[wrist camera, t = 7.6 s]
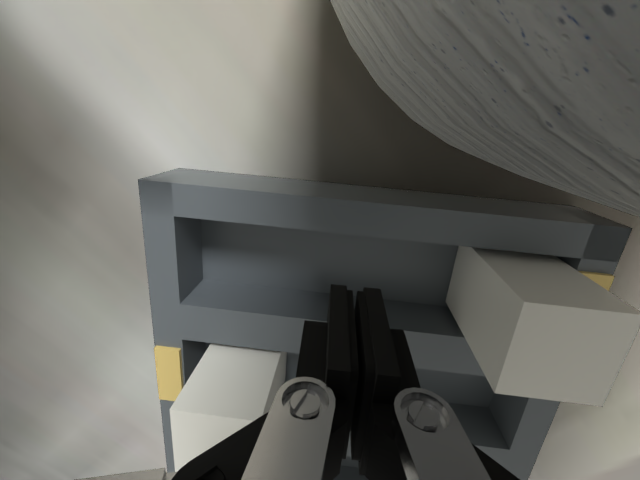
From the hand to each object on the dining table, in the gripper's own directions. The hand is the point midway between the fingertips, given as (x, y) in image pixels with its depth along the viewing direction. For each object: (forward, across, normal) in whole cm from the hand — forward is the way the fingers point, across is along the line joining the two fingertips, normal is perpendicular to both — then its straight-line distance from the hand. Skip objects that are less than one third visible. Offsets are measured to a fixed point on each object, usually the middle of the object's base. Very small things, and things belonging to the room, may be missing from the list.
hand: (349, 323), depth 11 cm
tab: (+8, -8, +1) cm, 11 cm away
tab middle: (+8, +5, +8) cm, 12 cm away
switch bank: (+9, -1, +8) cm, 12 cm away
